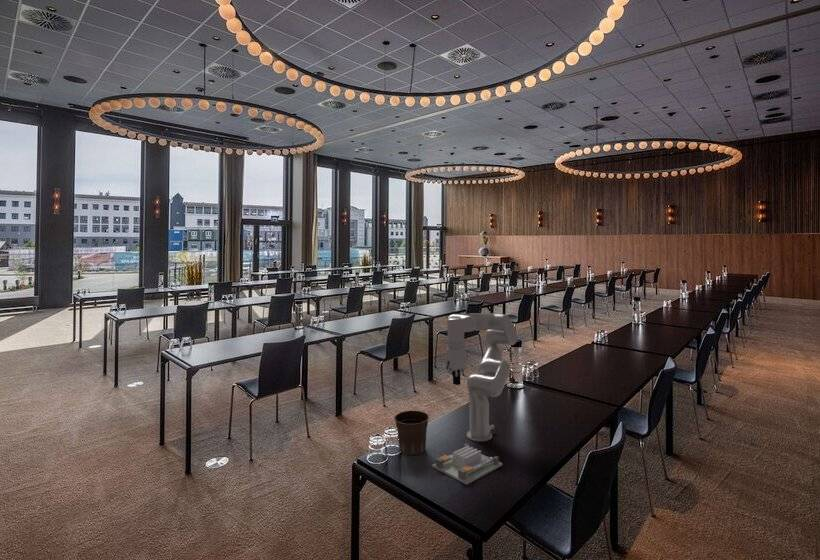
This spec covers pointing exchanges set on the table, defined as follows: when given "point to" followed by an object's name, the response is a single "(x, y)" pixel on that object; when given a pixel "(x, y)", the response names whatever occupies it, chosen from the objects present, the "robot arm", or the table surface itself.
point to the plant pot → (412, 431)
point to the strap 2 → (477, 465)
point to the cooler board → (469, 476)
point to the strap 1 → (446, 458)
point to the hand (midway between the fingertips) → (456, 384)
